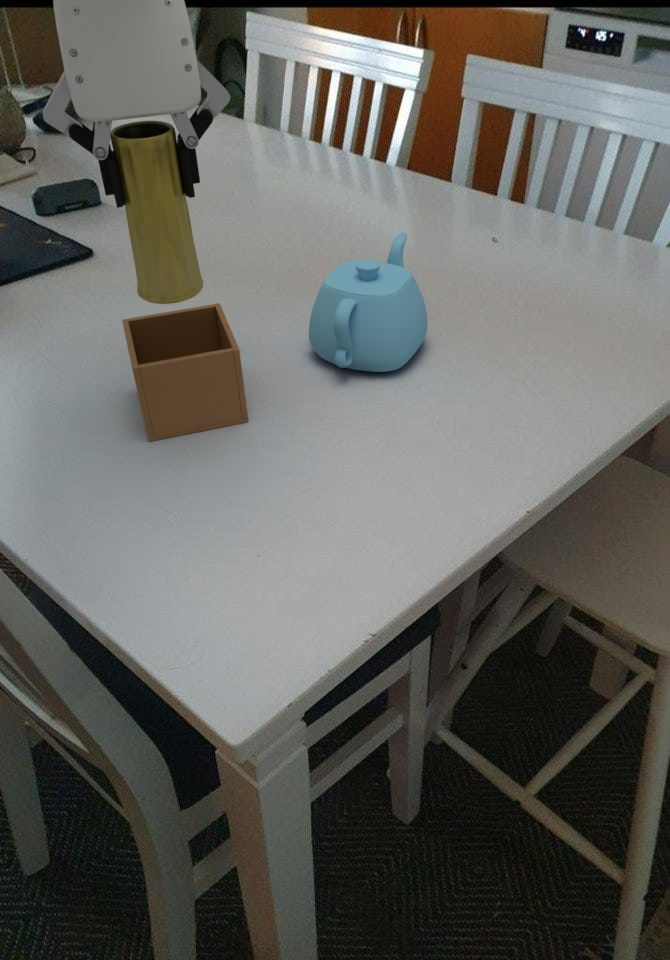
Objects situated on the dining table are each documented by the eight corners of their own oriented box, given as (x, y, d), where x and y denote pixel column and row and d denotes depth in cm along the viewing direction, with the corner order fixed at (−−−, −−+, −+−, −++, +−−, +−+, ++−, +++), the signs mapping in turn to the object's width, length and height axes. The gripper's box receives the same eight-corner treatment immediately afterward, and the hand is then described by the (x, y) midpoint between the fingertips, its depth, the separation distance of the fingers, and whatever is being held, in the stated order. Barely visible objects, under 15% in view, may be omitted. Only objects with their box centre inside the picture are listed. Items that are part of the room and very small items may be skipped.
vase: (175, 310, 72) (146, 145, 63) (123, 296, 75) (88, 135, 66) (216, 283, 76) (194, 123, 67) (166, 270, 79) (138, 115, 70)
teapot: (455, 235, 91) (394, 305, 79) (450, 320, 98) (393, 397, 85) (353, 220, 95) (280, 283, 83) (355, 302, 102) (288, 372, 90)
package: (148, 441, 81) (132, 368, 75) (137, 389, 88) (121, 319, 83) (248, 421, 83) (239, 349, 77) (229, 372, 90) (219, 302, 85)
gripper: (218, -66, 63) (242, 170, 74) (-12, -50, 59) (51, 196, 71) (237, -56, 57) (260, 198, 69) (-16, -37, 54) (53, 227, 65)
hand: (154, 195), depth 70 cm, fingers closed on vase, 5 cm apart
